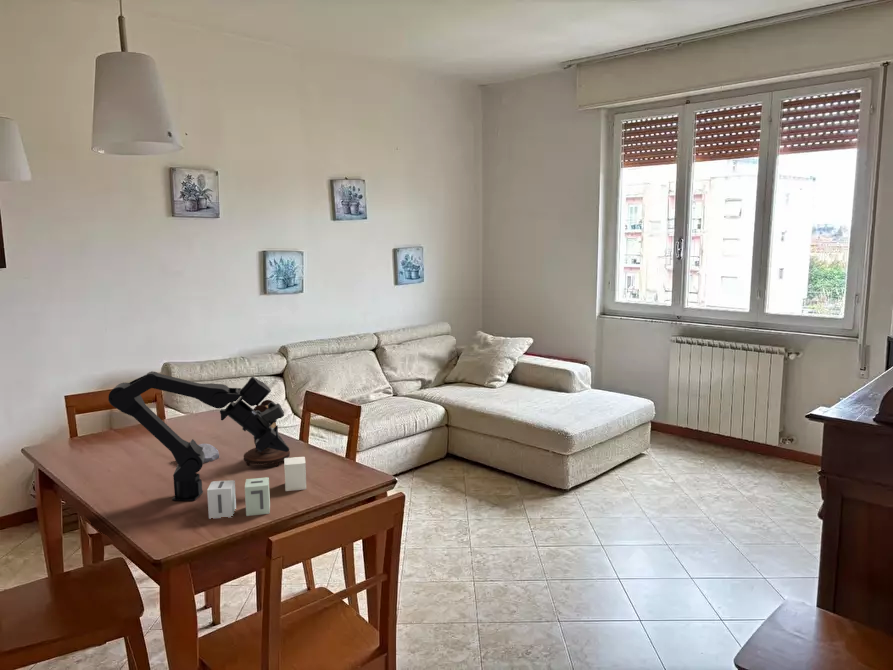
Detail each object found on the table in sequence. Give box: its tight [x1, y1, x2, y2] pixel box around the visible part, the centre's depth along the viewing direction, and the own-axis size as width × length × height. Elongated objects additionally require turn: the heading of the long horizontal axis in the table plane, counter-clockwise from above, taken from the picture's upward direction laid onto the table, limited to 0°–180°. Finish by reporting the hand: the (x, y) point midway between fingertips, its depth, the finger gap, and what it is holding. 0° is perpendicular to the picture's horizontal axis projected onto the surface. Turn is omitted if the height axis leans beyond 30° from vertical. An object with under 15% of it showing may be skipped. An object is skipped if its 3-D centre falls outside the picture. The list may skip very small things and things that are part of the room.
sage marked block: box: [244, 476, 271, 517], centre depth 174 cm, size 6×6×8 cm
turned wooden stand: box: [243, 399, 291, 467], centre depth 212 cm, size 15×15×20 cm
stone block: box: [198, 443, 220, 464], centre depth 214 cm, size 12×5×10 cm
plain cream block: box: [283, 456, 307, 492], centre depth 191 cm, size 6×6×8 cm
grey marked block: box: [206, 479, 237, 520], centre depth 172 cm, size 6×6×8 cm
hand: (288, 450), depth 189 cm, fingers closed
